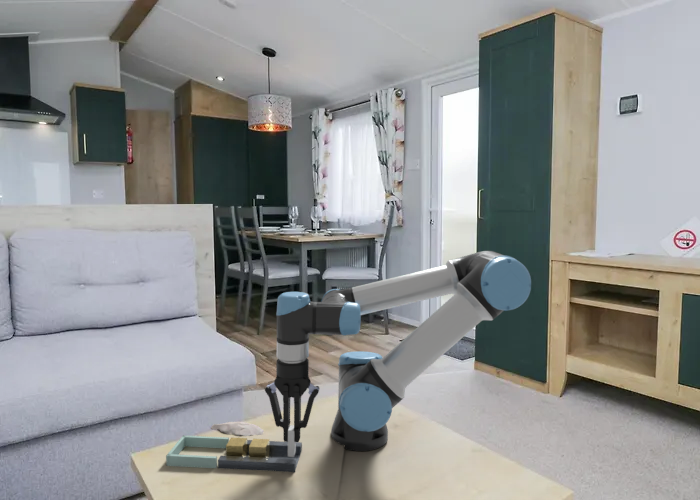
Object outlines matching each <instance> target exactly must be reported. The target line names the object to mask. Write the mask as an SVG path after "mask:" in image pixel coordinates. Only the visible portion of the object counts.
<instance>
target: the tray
mask: <svg viewBox="0 0 700 500" xmlns="http://www.w3.org/2000/svg"><path fill="white" fill-rule="evenodd" d="M229 440H230V437H224V436H223V437H222V436H221V437H220V436H206V435H205V436H204V435H203V436H202V435H201V436H200V435H182V436H181V437H180V438H179V440H178V441H177V442H176V443H175V444H174V446H173V447H172V448H171V449H170V451H168V453H167V454H166V456H165V464H166V467H184V468H186V467H187V468H202V469H204V468H207V469H217V468H218V456H217V455H216V456H215V455H214V456H212V455H193V454H180V453H182V452H183V450H184V449H185V447H186V448H187V447H190V448H191V447H192V448H193V447H194V448H209V449H210V448H211V449H212V448H214V449H215V448H216V449H226V445H227V443H228V442H229Z"/></svg>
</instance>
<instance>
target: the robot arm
mask: <svg viewBox="0 0 700 500" xmlns="http://www.w3.org/2000/svg"><path fill="white" fill-rule="evenodd" d="M531 278H532V277H531V275H530V271H529V269H528V268H527V267H526V266H525V265H524V264H523V263H522V262H520V261H519V260H517V259H516V258H514V257H513V256H511V255H506V254H505V255H504V254H503V253H502V254H501V253H500V252H497V251H494V250H483V251H478V252H474V253H471V254H467V255H463V256H460V257H456V258H454V259H453V258H452V259H448V260H447V261H446V263H445V264H444V265H441V266H436V267H432V268H427V269H424V270H419V271H416V272H411V273H407V274H404V275H398V276H393V277H391V278H390V277H389V278H386V279H382V280H377V281H373V282H369V283H366V284H361V285H357V286H352V287H349V288H344V289H339V288H333V289H329V290H328V291H326V292H325V293H324V294H323V296H322V299H321V300H320V301H311V299H310V295H309V293H307V292H304V291H301V292H300V291H285V292H283V293H280V294H279V295H278V297H277V303H276V304H277V305H276V312H275V313H276V314H275V315H276V358H277V359H276V367H275V368H276V371H275V373H276V377H275V378H274V381H273V382H272V383H268V384H267V385H266V387H265V388H264V391H265V393H266V395H267V396H268V398H269V401H270V406H271V411H272V414H273V418H274V419H273V420H274V423H275V426H276V427H278V428H279V427H280V428H282V429H283V442H288V457H294V455H295V452H296V442H300V439H301V430H302V429H305V428H307V426H308V423H309V420H310V417H311V413H312V408H313V405H314V403H315V402H314V401H315V398H316V397H317V396H318V394H319V393H320V386H318V385H314V384H313V383H312V382H311V378H310V376H309V374H310V373H309V372H310V371H309V369H310V368H309V366H310V365H309V363H310V361H309V359H308V358H309V356H310V355H309V354H310V335H331V336H333V335H335V336H336V335H337V336H339V335H341V336H350V335H357V334H359V333H360V330H361V322H362V321H361V319H362V318H361V317H362V316H364V315H367V314H371V313H375V312H380V311H383V310H389V309H392V308H397V307H402V306H405V305H409V304H413V303H418V302H422V301H426V300H431V299H434V298H435V299H436V298H439V297H444V296H448V295H451V294H452V295H453V296H451V297H450V298H449V299H448V300H447V301H445V303H443V304H442V305H441V306H440V307H439V308H438V309H437V310H436V311H434V312H433V313H432V314H431V315H430V316H429V317H427V318H426V319H425V320H423V322H422V323H421V324H420V325H418V326H417V327H416V328H415V329H414V330H413V331H411V332H410V333H409V334H408V335H407V336H406V337H405V338H404V339H402V341H400V342H399V343H398V344H397V345H396V346H394V348H392V350H390V351H389V352H388V353H387V354H386V355H385V356H382V355H381V354H379V353H377V352H371V351H347V352H344V353H342V354H341V355H340V356H339V357H338V358H339V359H338V363H337V365H338V393H337V395H338V399H337V400H338V406H337V407H338V408H337V412H336V414H335V417H334V420H333V424H332V426H331V434H330V435H331V437H332V439H333V440H334V441H335V442H336V443H338V444H340V445H342V446H344V449H345V450H350V451H355V452H366V451H372V450H377V449H379V448H381V447H383V446H384V445H385V444H386V443H387V442H388V439H389V434H388V433H389V430H388V426H387V423H388V421H389V420H390V418H391V416H392V412H393V408H395V407H396V406H397V405H398V404H399V403H400V402H402V400H404V398H405V395H406V389H407V387H408V386H409V385H410V384H412V382H413V381H415V380H416V379H417V378H418V377H419V376H421V375H422V374H423V373H424V372H425V371H426V370H428V368H429V367H431V366H432V365H433V364H434V363H436V361H438V360H439V359H440V358H441V357H442V356H443V355H444V354H446V353H447V352H448V351H449V350H451V349H452V348H453V346H455V345H456V344H457V343H458V342H460V341H461V339H463V338H464V337H465V336H466V335H467V334H468V333H469V332H471V331H472V330H473V329H474V328H475V327H476V326H477V325H479V324H480V323H481V322H482V321H493V320H494V319H496V318H497V317H498V316H499V315H501V314H502V313H503V312H504V311H505V312H507V311H513V310H515V309H517V308H519V307H520V306H522V305H523V304H524V303H525V302H526V301H527V300H528V298H529V296H530V293H531V290H532V279H531ZM277 390H278V392H279V393H280V395H282V402H283V403H282V405H283V407H282V408H283V410H281V407H280V403H279V399H278V393H277ZM307 390H308V394H309V397H308V400H307V404H306V407H305V411H304V415H303V419H302V414H301V413H302V396H303V395H304V393H306V391H307ZM291 398H293V404H294V405H293V406H294V408H293V415H294V417H293V422H294V423H293V425H291V423H292V422H291ZM282 411H283V413H282ZM282 415H283V416H282ZM301 419H302V420H301Z"/></svg>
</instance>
